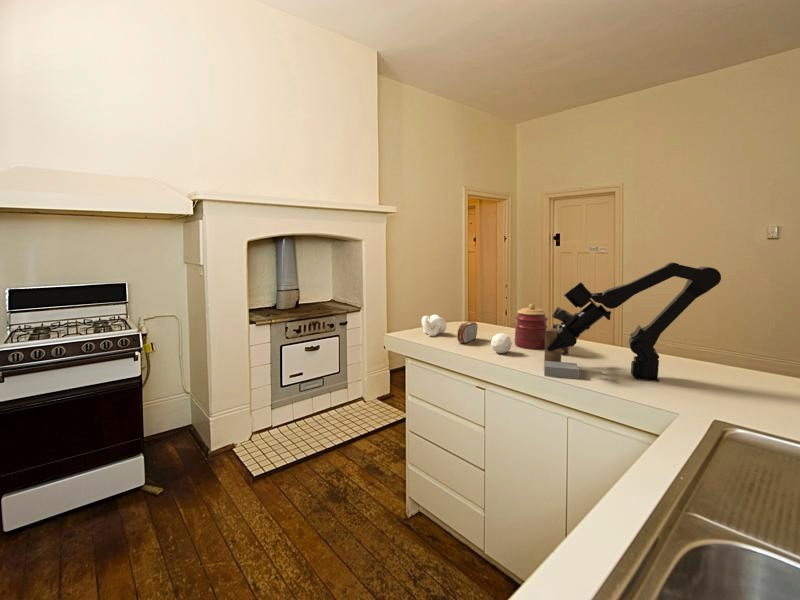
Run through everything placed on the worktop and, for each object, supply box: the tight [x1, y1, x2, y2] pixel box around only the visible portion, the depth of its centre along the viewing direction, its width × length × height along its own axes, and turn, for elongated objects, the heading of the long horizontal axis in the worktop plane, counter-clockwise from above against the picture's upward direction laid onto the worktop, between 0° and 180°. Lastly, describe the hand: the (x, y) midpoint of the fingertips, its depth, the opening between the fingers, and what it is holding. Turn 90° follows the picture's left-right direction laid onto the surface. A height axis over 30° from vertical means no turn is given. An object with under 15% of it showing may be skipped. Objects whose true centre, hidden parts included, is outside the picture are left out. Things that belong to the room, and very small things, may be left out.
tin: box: [456, 321, 479, 344], centre depth 176 cm, size 15×3×8 cm, turn 144°
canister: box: [514, 303, 549, 350], centre depth 167 cm, size 13×13×18 cm
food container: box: [552, 323, 570, 356], centre depth 158 cm, size 12×6×10 cm, turn 168°
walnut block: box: [543, 327, 562, 362], centre depth 138 cm, size 5×5×13 cm
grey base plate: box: [543, 361, 580, 380], centre depth 131 cm, size 10×7×3 cm
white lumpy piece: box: [421, 314, 448, 337], centre depth 190 cm, size 11×12×9 cm
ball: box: [490, 333, 513, 354], centre depth 157 cm, size 8×8×8 cm
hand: (549, 347), depth 139 cm, fingers open, 7 cm apart
